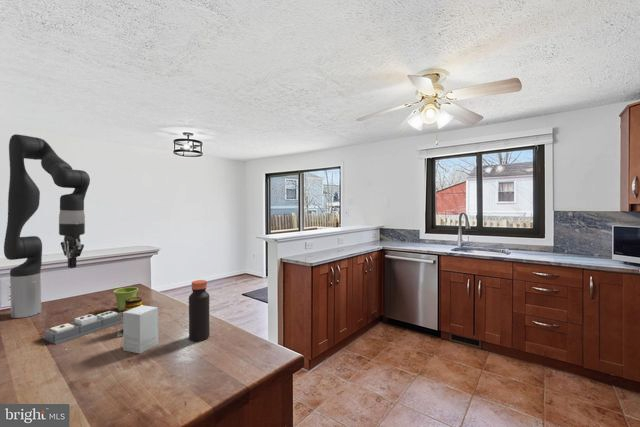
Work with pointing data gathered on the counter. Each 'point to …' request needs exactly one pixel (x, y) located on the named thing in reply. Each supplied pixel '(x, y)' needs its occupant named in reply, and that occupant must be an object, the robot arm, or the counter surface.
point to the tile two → (85, 319)
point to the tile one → (61, 328)
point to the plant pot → (124, 296)
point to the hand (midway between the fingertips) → (72, 267)
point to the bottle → (199, 311)
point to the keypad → (82, 329)
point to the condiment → (130, 305)
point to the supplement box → (140, 329)
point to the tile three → (106, 314)
